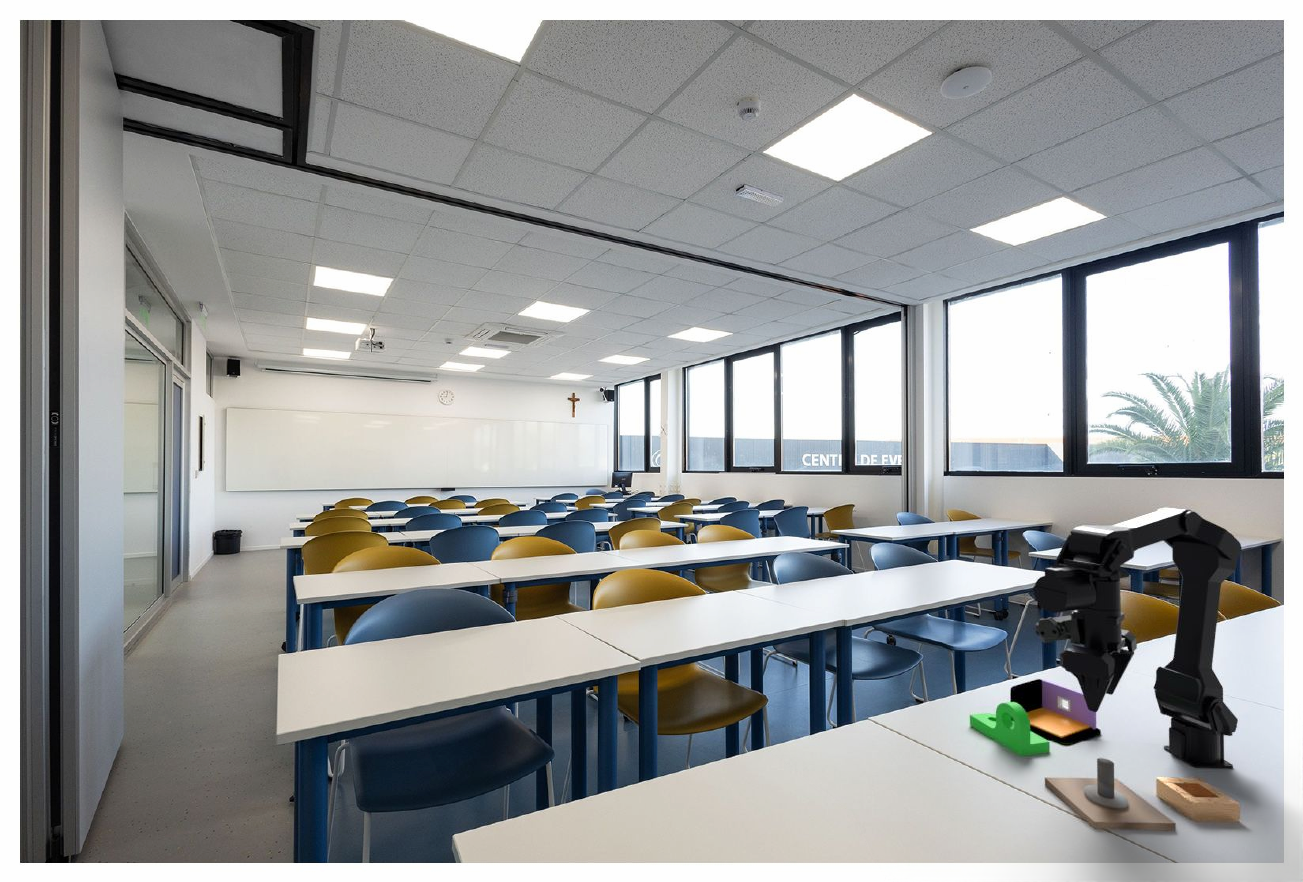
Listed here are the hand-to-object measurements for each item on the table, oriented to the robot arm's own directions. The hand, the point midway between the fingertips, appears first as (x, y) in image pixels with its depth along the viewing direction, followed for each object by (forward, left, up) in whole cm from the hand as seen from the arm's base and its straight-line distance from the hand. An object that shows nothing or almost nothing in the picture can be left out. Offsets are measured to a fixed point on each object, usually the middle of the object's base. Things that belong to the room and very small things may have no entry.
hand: (1100, 702), depth 95 cm
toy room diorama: (-3, -18, -13) cm, 23 cm away
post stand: (+5, +8, -12) cm, 16 cm away
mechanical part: (+7, -13, -13) cm, 20 cm away
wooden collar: (-8, +8, -12) cm, 17 cm away
